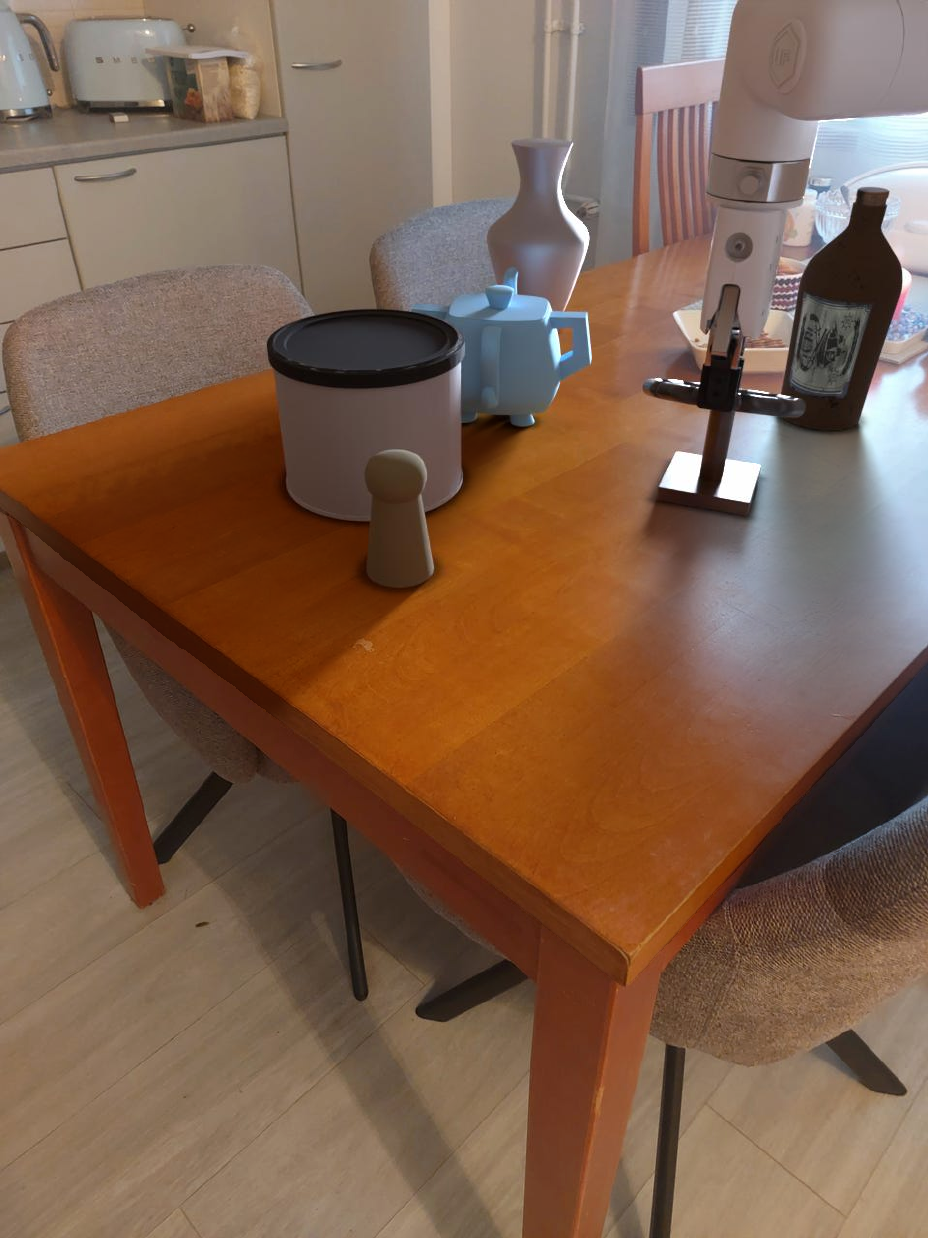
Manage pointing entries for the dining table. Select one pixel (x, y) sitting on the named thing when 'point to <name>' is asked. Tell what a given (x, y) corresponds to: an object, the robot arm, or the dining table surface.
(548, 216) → the vase
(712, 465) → the peg
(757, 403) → the ring
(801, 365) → the olive oil
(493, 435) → the dining table surface
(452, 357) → the container
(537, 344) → the teapot
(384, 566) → the wooden peg doll
